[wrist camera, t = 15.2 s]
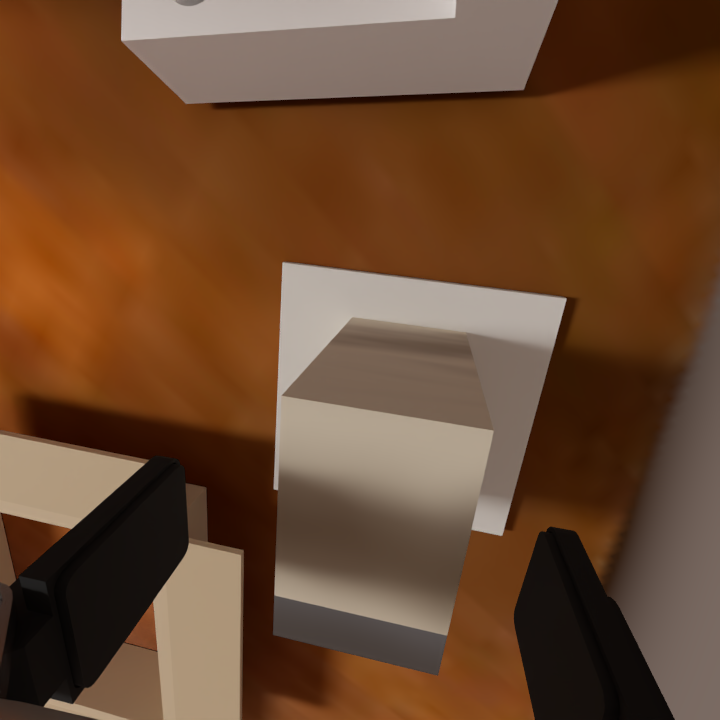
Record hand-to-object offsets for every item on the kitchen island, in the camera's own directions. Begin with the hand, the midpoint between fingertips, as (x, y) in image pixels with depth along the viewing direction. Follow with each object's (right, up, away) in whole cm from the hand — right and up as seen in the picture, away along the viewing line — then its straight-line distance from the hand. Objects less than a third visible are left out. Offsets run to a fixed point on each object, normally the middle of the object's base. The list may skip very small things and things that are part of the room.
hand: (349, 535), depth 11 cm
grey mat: (+2, +2, +9) cm, 10 cm away
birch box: (+2, +2, +9) cm, 9 cm away
